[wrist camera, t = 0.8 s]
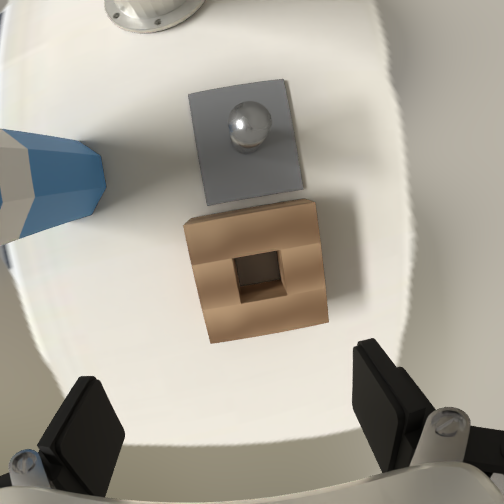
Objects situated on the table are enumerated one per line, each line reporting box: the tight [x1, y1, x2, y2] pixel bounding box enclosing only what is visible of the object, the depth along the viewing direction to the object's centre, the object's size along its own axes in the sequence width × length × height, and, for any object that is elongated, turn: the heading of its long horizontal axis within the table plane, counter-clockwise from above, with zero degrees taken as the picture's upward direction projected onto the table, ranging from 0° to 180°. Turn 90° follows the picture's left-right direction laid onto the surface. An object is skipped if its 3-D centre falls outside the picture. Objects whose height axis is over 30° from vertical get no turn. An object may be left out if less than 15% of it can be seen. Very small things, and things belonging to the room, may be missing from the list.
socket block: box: [183, 199, 329, 344], centre depth 32 cm, size 12×12×5 cm
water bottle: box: [0, 129, 106, 246], centre depth 20 cm, size 9×9×25 cm
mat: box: [188, 79, 303, 206], centre depth 32 cm, size 12×10×1 cm
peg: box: [228, 101, 272, 154], centre depth 26 cm, size 3×3×11 cm
